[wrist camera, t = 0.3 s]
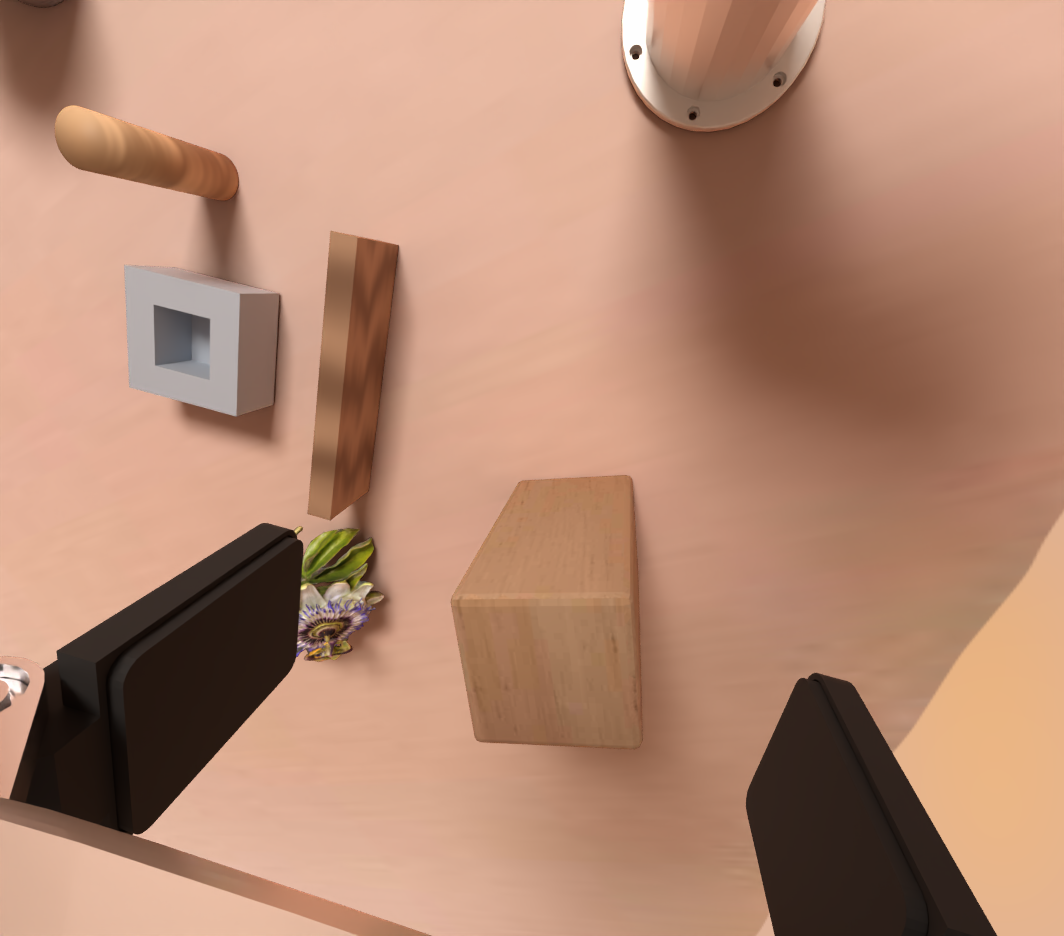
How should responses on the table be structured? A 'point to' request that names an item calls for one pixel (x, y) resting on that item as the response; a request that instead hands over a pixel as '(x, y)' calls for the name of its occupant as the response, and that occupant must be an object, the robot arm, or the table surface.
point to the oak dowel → (142, 155)
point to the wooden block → (555, 618)
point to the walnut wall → (350, 370)
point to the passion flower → (333, 595)
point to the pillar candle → (41, 2)
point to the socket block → (201, 339)
